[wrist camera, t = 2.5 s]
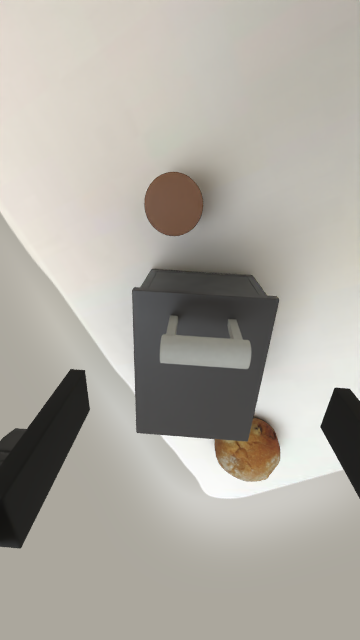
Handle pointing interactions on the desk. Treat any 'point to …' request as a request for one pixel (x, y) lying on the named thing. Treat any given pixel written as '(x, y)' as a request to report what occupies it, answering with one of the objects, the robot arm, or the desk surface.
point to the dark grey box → (202, 282)
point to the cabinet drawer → (199, 361)
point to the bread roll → (250, 453)
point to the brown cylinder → (173, 203)
